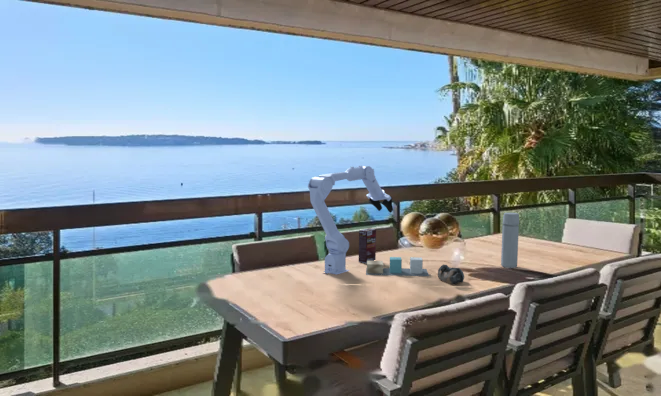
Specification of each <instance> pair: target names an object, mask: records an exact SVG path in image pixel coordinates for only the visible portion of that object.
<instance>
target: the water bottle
mask: <svg viewBox="0 0 661 396" xmlns="http://www.w3.org/2000/svg"><path fill="white" fill-rule="evenodd" d="M502 216H503V218H502V222H501V225H502V229H501V255H500V258H501V260H500V265H501V266H502V267H503V268H504V269H505V268H506V269H516V268H517V267H518V258H519V257H518V255H519V253H518V251H519V234H520V233H519V231H520V227H519V225H520V213H518V212H504V213H503V215H502Z"/></svg>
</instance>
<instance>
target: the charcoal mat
mask: <svg viewBox="0 0 661 396" xmlns="http://www.w3.org/2000/svg"><path fill="white" fill-rule="evenodd" d="M365 275H366V276H389V277H391V276H395V277H396V276H397V277H398V276H400V277H401V276H402V277H407V276H408V277H430V274H429V272H428V270H427V268H422V274H415V273H411V272H410V268H403V267H402V273H390V267H383V274H380V273H367V267H366V269H365Z"/></svg>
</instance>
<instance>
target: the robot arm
mask: <svg viewBox="0 0 661 396" xmlns="http://www.w3.org/2000/svg"><path fill="white" fill-rule="evenodd" d="M342 180H347V181H348V182H353V181H354V182H355V181H358V180H362V182H363V184H364V186H365V188H366V189H367V191H368V193H367V194H366V197H367V199H369V200H368V203H369V204H371V205H372V206H374V207H375V208H376V210H378V212H381V211H382V210H383V206H384V208H385V209H386V210H387V211H388V213H390V214H391V213H392V212H393V211H394V208H393V197H392V196H390V194H387V193H386V192H385V190H384V189H382V188H381V185H380V184H379V182H378V180H377V178H376V176H375V169H374V168H372V167H371V166H370V165H369V166H368V165H358V166H356V167H355V166H350V167H348V168H347V169H346V170H345V171H340V172H332V173H330V172H329V173H323V174H319V175H318V176H316V175H315V176H312V177H311V178H310V179H309V181H308V185H307V188H308V191H309V197H310V198H309V199H310V204H311V206H312V208H313V210H314V212H315V214H316V216H317V219H318V221H319V222H320V224H321V226H322V229H323V231H324V233H325V234H326V235H325V237H324V239H325V246H326V248H327V249H328V252H329V253H328V254H327V255H326V256H325V257H324V271H323V272H325V273H324V274H328V273H329V274H333V275H340V274H341V275H342V274H343V273H346V272H349V271H350V269H346V267H347V266H346V259H347V258H346V257H347V255H346V254H347V252H348V250H349V248H350V242H349V240H348V239H347V238H345V235H344V234H343V233H341V232H340V231H339V230H338V227H337V225H336V223H335V221H334V219H333V216H332V215H331V212H330V211H329V208H328V207H327V203H326V202H325V200H326V198H327V197H328V196H329V194H330V193H331V192H332V190H333V186H335V185H336V182H337V181H342ZM381 201H382V202H381ZM382 205H383V206H382Z"/></svg>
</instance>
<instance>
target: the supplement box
mask: <svg viewBox="0 0 661 396" xmlns="http://www.w3.org/2000/svg"><path fill="white" fill-rule="evenodd" d="M376 244H377V229H375V228H368V227H367V228H365V229H359V231H358V263H361V262H362V263H363V264H367V261H374V260H376V259H377V257H376V255H377V253H376V249H377V245H376ZM376 261H377V260H376Z"/></svg>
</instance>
